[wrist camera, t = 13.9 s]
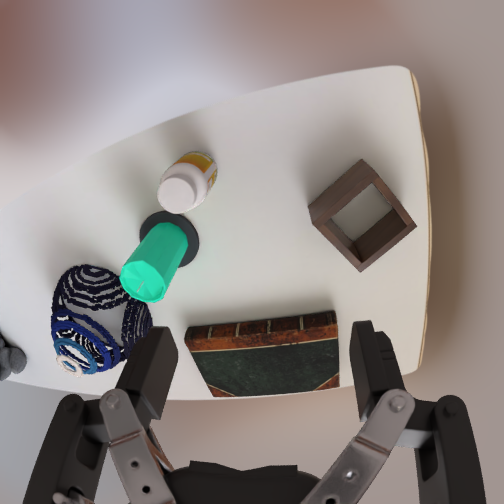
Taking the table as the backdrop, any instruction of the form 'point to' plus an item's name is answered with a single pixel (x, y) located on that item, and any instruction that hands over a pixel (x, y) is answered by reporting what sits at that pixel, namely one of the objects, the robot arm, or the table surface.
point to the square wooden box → (376, 237)
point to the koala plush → (10, 360)
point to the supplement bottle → (187, 182)
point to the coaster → (180, 222)
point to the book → (267, 355)
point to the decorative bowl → (93, 322)
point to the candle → (154, 263)
